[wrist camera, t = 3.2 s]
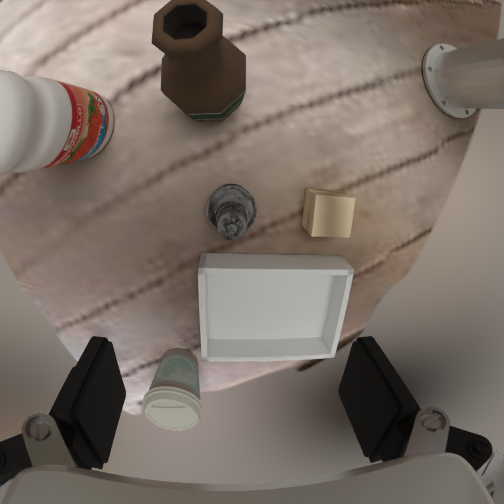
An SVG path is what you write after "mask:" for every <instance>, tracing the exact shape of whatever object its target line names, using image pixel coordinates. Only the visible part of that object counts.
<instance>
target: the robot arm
mask: <svg viewBox="0 0 504 504" xmlns="http://www.w3.org/2000/svg"><path fill="white" fill-rule="evenodd" d="M423 76H424V80H425V84H426V87H427V89H428V92H429V94H430V95H431V97H432V99H433V100H434V102H435V103H436V105H437V106H438V107H439V108H440V109H441V110H442V111H443V112H445V113H446V114H448V115H450V116H452V117H455V118H466V117H469V116H471V115H472V114H473V113H474V112H475V110H476V108H489V109H490V108H492V109H504V39H499V40H494V41H489V42H485V43H480V44H476V45H471V46H467V47H463V48H459V49H457V48H455V47H453V46H451V45H449V44H443V43H442V44H437V45H434V46H432V47H430V48H429V49H428V50H427V52H426V53H425V56H424V59H423ZM339 396H340V399H341V401H342V403H343V406H344V408H345V410H346V413H347V415H348V418H349V420H350V422H351V425H352V427H353V430H354V432H355V434H356V437H357V439H358V442H359V444H360V446H361V449H362V451H363V454H364V456H365V457H369V459H370V462H371V463H373V462H376V461H380V460H382V461H383V462H382V463H378V464H374V465H370V466H366V467H361V468H357V469H352V470H348V471H344V472H339V473H334V474H328V475H322V476H316V477H310V478H303V479H295V480H287V481H277V482H264V483H247V484H196V483H179V482H167V481H157V480H149V479H141V478H134V477H127V476H121V475H115V474H109V473H104V472H99V471H94V470H91V469H92V467H94V468H98V469H102V468H103V464H104V463H107V462H108V459H109V455H110V451H111V448H112V444H113V440H114V436H115V432H116V429H117V425H118V421H119V418H120V414H121V411H122V408H123V404H124V401H125V397H126V390H125V387H124V383H123V380H122V377H121V373H120V370H119V366H118V363H117V359H116V355H115V352H114V348H113V344H112V342H109V341H108V339H107V338H106V337H96V336H93V337H92V338H91V339H90V341H89V343H88V345H87V346H86V348H85V350H84V352H83V354H82V355H81V357H80V359H79V361H78V363H77V365H76V366H75V367H73V368H72V370H71V371H70V373H69V375H68V377H67V379H66V381H65V383H64V385H63V387H62V389H61V390H60V392H59V394H58V397H57V399H56V401H55V403H54V405H53V407H52V409H51V411H50V413H49V415H47V414H45V413H36V414H33V415H31V416H29V417H28V418H27V419H26V420H25V421H24V423H23V425H22V434H19V435H17V436H14V437H12V438H9V439H6V440H4V441H1V442H0V504H504V455H503V454H502V453H500V452H498V451H497V450H496V451H495V452H492V445H491V443H490V442H489V440H488V439H486V438H485V437H483V436H481V435H477V434H474V433H471V432H468V431H465V430H462V429H459V428H455V427H453V426H450V420H449V418H448V416H447V414H446V413H445V412H444V411H442V410H441V409H439V408H436V407H425V408H422V409H420V407H419V406H418V404H417V402H416V401H415V399H414V398H413V396H412V394H411V393H410V391H409V390H408V388H407V387H406V385H405V384H404V382H403V381H402V379H401V378H400V376H399V375H398V373H397V372H396V370H395V369H394V367H393V366H392V364H391V363H390V361H389V360H388V359H387V357H386V355H385V354H384V352H383V351H382V350H381V348H380V347H379V345H378V344H377V343H376V341H375V339H374V338H373V337H372V336H368V337H359V338H357V340H356V341H354V342H353V344H352V347H351V350H350V354H349V357H348V361H347V364H346V367H345V370H344V374H343V377H342V380H341V383H340V386H339Z"/></svg>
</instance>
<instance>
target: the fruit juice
mask: <svg viewBox="0 0 504 504" xmlns="http://www.w3.org/2000/svg"><path fill="white" fill-rule="evenodd" d="M113 126H114V115H113V111H112V108H111V106H110V104H109V102H108V101H107V100H106V99H105V98H104V97H103V96H102V95H100V94H99V93H96V92H94V91H90V90H87V89H84V88H81V87H77V86H74V85H70V84H67V83H63V82H60V81H56V80H53V79H50V78H44V77H35V76H32V77H25V78H23V77H22V76H20V75H19V74H17V73H15V72H12V71H4V70H0V177H2V176H4V175H5V174H7V173H8V172H18V173H19V172H29V171H35V170H38V169H42V168H46V167H51V166H55V165H60V164H65V163H70V162H75V161H80V160H85V159H88V158H90V157H92V156H94V155H96V154H97V153H99V152H100V151H101V150H102V149H103V148H104V146H105V145H106V144H107V142H108V141H109V139H110V137H111V134H112V131H113Z"/></svg>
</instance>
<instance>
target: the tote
mask: <svg viewBox="0 0 504 504" xmlns="http://www.w3.org/2000/svg"><path fill="white" fill-rule="evenodd" d="M353 273H354V269H353V268H352V267H351V266H350V264H349V263H348V262H347V261H346V260H345V259H344V258H343V257H342V256H341V255H286V254H229V253H201V257H200V261H199V266H198V287H199V313H200V334H201V351H202V361H214V362H257V361H288V360H306V359H320V358H333V357H334V356H335V353H336V349H337V345H338V341H339V337H340V333H341V329H342V325H343V320H344V316H345V312H346V307H347V303H348V298H349V293H350V289H351V284H352V279H353Z"/></svg>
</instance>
